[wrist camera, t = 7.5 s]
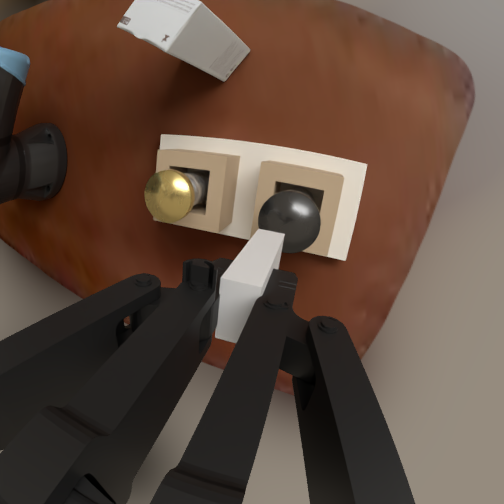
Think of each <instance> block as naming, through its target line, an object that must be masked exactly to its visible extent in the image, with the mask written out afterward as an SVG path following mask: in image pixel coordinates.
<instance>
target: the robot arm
mask: <svg viewBox="0 0 504 504" xmlns="http://www.w3.org/2000/svg"><path fill="white" fill-rule="evenodd" d="M29 67H30V60H29V58H28V57H27V56H26V55H24V54H22V53H19V52H16V51H13V50H9V49H5V48H1V47H0V204H1V203H4V202H7V201H10V200H14V199H17V198H20V199H29V200H37V201H42V200H45V199H49V198H52V197H53V196H55V195H56V194H57V193H58V191H59V190H60V188H61V186H62V184H63V181H64V178H65V174H66V167H67V152H66V145H65V141H64V138H63V135H62V133H61V132H60V130H59V129H58V128H57V127H56V126H55V125H54V124H51V123H40V124H36V125H34V126H32V127H30V128H28V129H26V130H24V131H22V132H20V133H18V134H16V135H12V133H13V128H14V123H15V119H16V114H17V110H18V106H19V102H20V99H21V95H22V92H23V88H24V86H25V85H26V82H25V81H26V77H27V73H28V70H29ZM284 236H285V234H282V233H277V232H273V231H268V230H263V229H258V230H257V231H256V232H255V234H254V235H253V236H252V238H251V239H250V240H249V242H248V243H247V244H246V245H245V247H244V248H243V249H242V251H241V252H240V253H239V255H238V256H237V257H236V258H235V260H229V259H225V258H219V259H217V260H214V261H213V262H212V261H209V260H206V259H190V260H186V261H184V262H183V278H182V283H181V284H180V285H179V286H178V287H177V288H163V287H161V282H160V280H159V278H157V277H156V276H154V275H150V274H145V273H143V274H137V275H134V276H131V277H129V278H127V279H125V280H123V281H120V282H118V283H116V284H114V285H112V286H110V287H108V288H106V289H104V290H102V291H99V292H97V293H95V294H93V295H91V296H89V297H87V298H85V299H83V300H81V301H79V302H77V303H75V304H73V305H71V306H69V307H67V308H64V309H63V310H60V311H58V312H56V313H54V314H52V315H50V316H48V317H46V318H44V319H42V320H40V321H39V322H37V323H35V324H33V325H31V326H29V327H27V328H25V329H23V330H21V331H19V332H17V333H15V334H13V335H11V336H9V337H7V338H6V339H4V340H2V341H0V450H3V449H4V450H3V451H2V452H1V453H0V504H126V503H127V501H128V499H129V497H130V494H131V489H132V482H133V479H134V477H135V476H136V474H137V472H138V470H139V469H140V467H141V465H142V464H143V462H144V460H145V458H146V457H147V455H148V453H149V452H150V450H151V448H152V446H153V445H154V443H155V441H156V439H157V438H158V436H159V434H160V432H161V431H162V429H163V427H164V426H165V424H166V422H167V421H168V419H169V417H170V415H171V414H172V412H173V410H174V408H175V407H176V405H177V403H178V401H179V399H180V398H181V396H182V394H183V393H184V391H185V389H186V387H187V386H188V384H189V382H190V380H191V379H192V377H193V375H194V373H195V372H196V370H197V368H198V366H199V364H200V363H201V361H202V359H203V358H204V356H205V354H206V352H207V351H208V349H209V347H210V345H211V341H212V333H213V332H214V330H215V328H216V333H215V338H219V339H222V340H226V341H230V342H234V343H236V345H235V348H234V350H233V352H232V354H231V356H230V358H229V360H228V363H227V365H226V367H225V369H224V371H223V373H222V375H221V378H220V380H219V382H218V384H217V386H216V388H215V390H214V393H213V395H212V397H211V399H210V401H209V403H208V405H207V407H206V409H205V412H204V414H203V416H202V418H201V420H200V422H199V424H198V426H197V428H196V430H195V432H194V434H193V436H192V438H191V440H190V442H189V444H188V446H187V448H186V450H185V452H184V454H183V457H182V458H181V460H180V462H179V464H178V466H177V467H176V468H174V469H171V470H170V471H169V472H168V473H167V474H166V475H165V477H164V479H163V481H162V482H161V484H160V486H159V488H158V489H157V491H156V493H155V495H154V497H153V499H152V501H151V503H150V504H242V502H243V498H244V495H245V490H246V486H247V483H248V480H249V476H250V473H251V470H252V466H253V463H254V460H255V456H256V453H257V449H258V446H259V442H260V439H261V435H262V431H263V428H264V424H265V421H266V417H267V413H268V409H269V405H270V402H271V398H272V394H273V390H274V386H275V382H276V378H277V374H278V370H279V369H281V370H283V371H285V372H287V373H289V374H291V375H293V376H292V383H293V389H294V396H295V402H296V408H297V415H298V422H299V428H300V435H301V442H302V448H303V456H304V462H305V470H306V476H307V484H308V491H309V499H310V504H415V502H414V498H413V495H412V492H411V489H410V486H409V484H408V480H407V477H406V475H405V472H404V469H403V466H402V463H401V460H400V458H399V455H398V452H397V450H396V447H395V444H394V441H393V439H392V436H391V434H390V431H389V428H388V426H387V423H386V421H385V418H384V415H383V413H382V410H381V408H380V406H379V403H378V401H377V398H376V396H375V393H374V391H373V388H372V386H371V384H370V381H369V379H368V376H367V374H366V372H365V369H364V368H363V365H362V363H361V360H360V358H359V356H358V353H357V351H356V349H355V347H354V344H353V342H352V340H351V338H350V335H349V333H348V331H347V329H346V327H345V326H344V324H343V323H341V322H340V321H338V320H337V319H335V318H332V317H327V316H317V317H314V318H312V319H311V320H310V321H309V322H308V321H306V320H304V319H302V318H300V317H299V316H297V315H296V314H295V313H294V311H293V309H292V305H293V300H294V295H295V290H296V285H297V280H298V278H297V277H296V275H295V273H292V272H287V271H283V270H278V268H279V263H280V257H281V252H282V247H283V241H284ZM127 316H129V317H130V324H129V325H128V326H124V321H123V319H124V318H126V317H127Z"/></svg>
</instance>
